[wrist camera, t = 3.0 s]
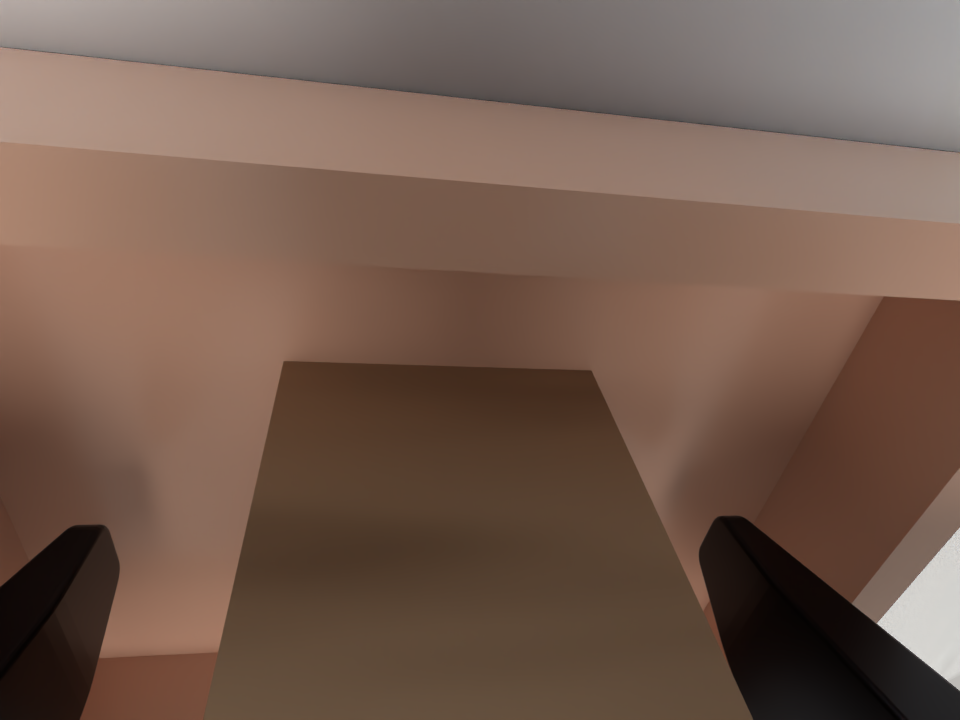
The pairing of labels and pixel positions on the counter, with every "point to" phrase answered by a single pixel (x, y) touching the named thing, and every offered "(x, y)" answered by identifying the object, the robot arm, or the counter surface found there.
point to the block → (458, 559)
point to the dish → (453, 318)
